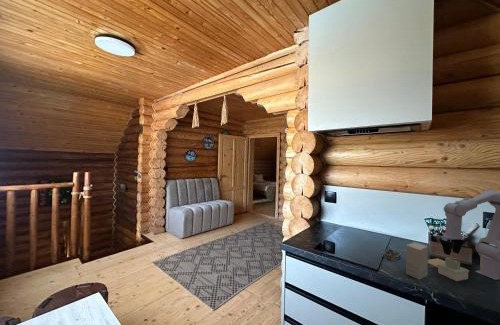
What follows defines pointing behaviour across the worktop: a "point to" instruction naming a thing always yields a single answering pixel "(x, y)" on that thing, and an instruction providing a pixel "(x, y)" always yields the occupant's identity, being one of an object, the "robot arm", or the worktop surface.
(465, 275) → the box
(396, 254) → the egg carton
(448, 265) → the lid
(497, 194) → the robot arm
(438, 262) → the cork mat
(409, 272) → the skincare box
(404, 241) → the worktop surface
